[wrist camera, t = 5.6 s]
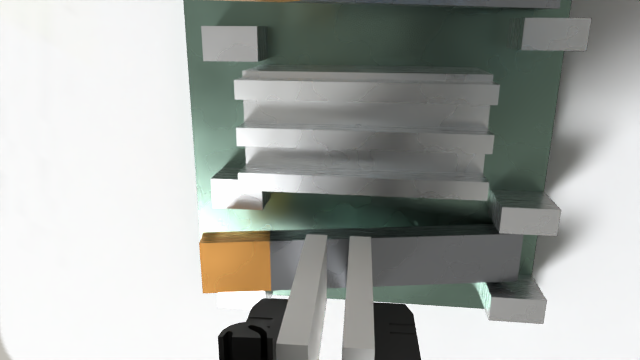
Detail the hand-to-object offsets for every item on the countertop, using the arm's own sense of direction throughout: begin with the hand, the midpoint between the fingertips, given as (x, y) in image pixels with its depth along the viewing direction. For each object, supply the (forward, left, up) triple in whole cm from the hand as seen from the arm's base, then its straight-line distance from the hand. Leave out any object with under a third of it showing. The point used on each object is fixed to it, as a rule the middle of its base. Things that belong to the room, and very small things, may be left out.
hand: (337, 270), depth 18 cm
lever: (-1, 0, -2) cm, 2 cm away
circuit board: (-1, -5, -4) cm, 6 cm away
